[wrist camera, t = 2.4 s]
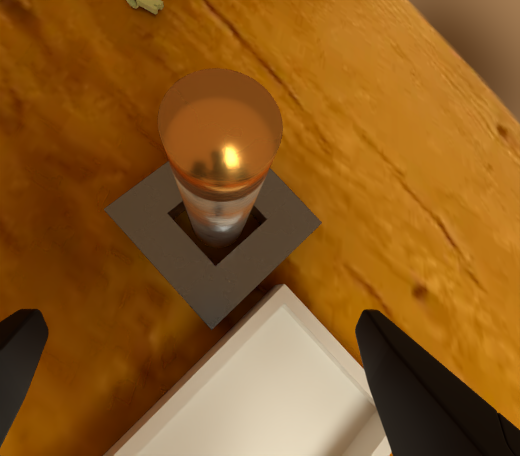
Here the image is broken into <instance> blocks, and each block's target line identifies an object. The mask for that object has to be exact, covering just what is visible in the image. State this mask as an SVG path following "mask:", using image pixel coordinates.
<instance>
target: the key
mask: <svg viewBox="0 0 520 456" xmlns="http://www.w3.org/2000/svg"><path fill="white" fill-rule="evenodd" d="M126 1H127V2H128V4H129V5H130V6H131V7H133V8H135V9H136V8H138V7H139V6H141V7H143V8H145V9H146V10H148V11H150V12H152V13H154V14H155V15H156V14H157V13H158V10H159V9H160V10H161V9H162V8H163V7H164V5H163V1H161V0H126Z"/></svg>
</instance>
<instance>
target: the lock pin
mask: <svg viewBox="0 0 520 456" xmlns="http://www.w3.org/2000/svg"><path fill="white" fill-rule="evenodd" d="M158 131H159V134H160V138H161V141H162V144H163V146H164V149H165V152H166V155H167V158H168V160H169V163H170V166H171V169H172V172H173V174H174V177H175V180H176V183H177V186H178V188H179V191H180V194H181V197H182V199H183V202H184V205H185V208H186V211H187V213H188V216H189V219H190V222H191V225H192V227H193V230H194V233H195V235H196V237H197V238H198V239H199V240H200V241H201V242H202V243H203V244H205V245H207V246H209V247H213V248H223V247H227V246H229V245H231V244H233V243H234V242H235V241H236V240H237V239H238V238H239V236H240V234H241V232H242V230H243V228H244V225H245V223H246V221H247V219H248V216H249V214H250V212H251V209H252V207H253V205H254V203H255V200H256V198H257V196H258V194H259V191H260V189H261V187H262V184H263V182H264V180H265V178H266V175H267V173H268V171H269V168H270V166H271V164H272V162H273V159H274V157H275V155H276V153H277V150H278V148H279V145H280V143H281V138H282V131H283V126H282V118H281V114H280V111H279V108H278V106H277V104H276V102H275V100H274V99H273V97H272V96H271V94H270V93H269V92H268V91H267V90H266V89H265V88H264V87H263V86H262V85H261V84H260V83H258V82H257V81H255V80H254V79H252V78H250V77H249V76H247V75H244V74H242V73H239V72H236V71H233V70H227V69H205V70H200V71H197V72H193V73H191V74H189V75H187V76H185V77H183V78H181V79H180V80H179V81H177V82H176V83H175V84H174V85H173V86H172V87H171V88H170V89H169V90H168V92H167V93H166V94H165V96H164V98H163V100H162V102H161V105H160V108H159V112H158Z"/></svg>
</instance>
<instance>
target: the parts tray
mask: <svg viewBox="0 0 520 456" xmlns="http://www.w3.org/2000/svg"><path fill="white" fill-rule="evenodd" d="M391 452H392V451H391V448H390V445H389V443H388V440H387V437H386V434H385V431H384V428H383V426H382V423H381V420H380V417H379V414H378V411H377V409H376V406H375V403H374V400H373V397H372V395H371V392H370V389H369V386H368V382H367V379H366V375H365V371H364V369H363V368H362V367H361V366H360V365H359V364H358V363H357V362H356V360H355V359H354V358H353V357H352V356H351V355H350V354H349V353H348V352H347V351H346V350H345V349H344V347H343V346H342V345H341V344H340V343H339V342H338V341H337V340H336V339H335V338H334V337H333V336H332V334H331V333H330V332H329V331H328V330H327V329H326V328H325V327H324V326H323V325H322V324H321V323H320V321H319V320H318V319H317V318H316V317H315V316H314V315H313V314H312V313H311V312H310V311H309V310H308V309H307V307H306V306H305V305H304V304H303V303H302V302H301V301H300V300H299V299H298V298H297V297H296V296H295V294H294V293H293V292H292V291H291V290H290V289H289V288H288V287H287V286H286V285H285V284H279V285H275V286H274V287H272V288H271V289H270V290H269V291H268V292H267V293H266V294H265V295H264V296H263V297H262V298H261V299H260V300H259V301H258V302H257V303H256V304H255V305H254V306H253V307H252V308H251V309H250V310H249V311H248V312H247V313H246V314H245V315H244V316H243V317H242V318H241V319H240V320H239V321H238V322H237V323H236V324H235V325H234V326H233V327H232V328H231V329H230V330H229V331H228V332H227V333H226V334H225V335H224V336H223V337H222V338H221V339H220V340H219V341H218V342H217V343H216V344H215V345H214V346H213V347H212V348H211V349H210V350H209V351H208V352H207V353H206V354H205V355H204V356H203V357H202V358H201V359H200V360H199V361H198V362H197V363H196V364H195V365H194V366H193V367H192V368H191V369H190V370H189V371H188V372H187V373H186V374H185V375H184V376H183V377H182V378H181V379H180V380H179V381H178V382H177V383H176V384H175V385H174V386H173V387H172V388H171V389H170V390H169V391H168V392H167V393H166V394H165V395H164V396H163V397H162V398H161V399H160V400H158V401H157V402H156V403H155V404H154V405H153V406H152V407H151V408H150V409H149V410H148V411H147V412H146V413H145V414H144V415H143V416H142V417H141V418H140V419H139V420H138V421H137V422H136V423H135V424H134V425H133V426H132V427H131V428H130V429H129V430H128V431H127V432H126V433H125V434H124V435H123V436H122V437H121V438H120V439H119V440H118V441H117V442H116V443H115V444H114V445H113V446H112V447H111V448H110V449H109V450H108V451H107V452H106V453H105V454H104V455H103V456H389V455H390V453H391Z"/></svg>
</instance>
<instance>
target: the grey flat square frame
mask: <svg viewBox="0 0 520 456" xmlns="http://www.w3.org/2000/svg"><path fill="white" fill-rule="evenodd" d="M185 209H186V208H185V205H184V202H183V199H182V197H181V194H180V191H179V188H178V186H177V183H176V180H175V177H174V174H173V172H172V169H171V166H170V163H169V161H168V162H166V163H165V164H164V165H162V166H161V167H160V168H158V169H157V170H156V171H154V172H153V173H152V174H150V175H149V176H148V177H146V178H145V179H144V180H142V181H141V182H140V183H138V184H137V185H136V186H134V187H133V188H131V189H130V190H129V191H127V192H126V193H125V194H123V195H122V196H121V197H119V198H118V199H117V200H115V201H114V202H113V203H111V204H110V205H109V206H107V207H106V208H105V209H104V210H105V211H106V212H107V214H108V215H109V216H110V217H111V218H112V219H113V220H114V221H115V222H116V224H117V225H118V226H119V227H120V228H121V229H122V230H123V231H124V233H125V234H126V235H127V236H128V237H129V238H130V239H131V240H132V241H133V243H134V244H135V245H136V246H137V247H138V248H139V249H140V250H141V252H142V253H143V254H144V255H145V256H146V257H147V258H148V259H149V260H150V262H151V263H152V264H153V265H154V266H155V267H156V268H157V269H158V271H159V272H160V273H161V274H162V275H163V276H164V277H165V278H166V279H167V281H168V282H169V283H170V284H171V285H172V286H173V287H174V288H175V290H176V291H177V292H178V293H179V294H180V295H181V296H182V297H183V298H184V300H185V301H186V302H187V303H188V304H189V305H190V306H191V307H192V308H193V310H194V311H195V312H196V313H197V314H198V315H199V316H200V317H201V319H202V320H203V321H204V322H205V323H206V324H207V325H208V326H209V327H210V329H211V330H212V329H213V328H214V327H215V326H216V325H217V324H218V323H219V322H220V321H221V320H222V319H223V318H225V317H226V316H227V315H228V314H229V313H230V312H231V311H232V310H233V309H234V308H235V307H236V306H237V305H238V304H239V303H240V302H241V301H242V300H243V299H244V298H245V297H246V296H247V295H248V294H249V293H250V292H251V291H252V290H253V289H254V288H255V287H256V286H257V285H259V284H260V283H261V282H262V281H263V280H264V279H265V278H266V277H267V276H268V275H269V274H270V273H271V272H272V271H273V270H274V269H275V268H276V267H277V266H278V265H279V264H280V263H281V262H282V261H283V260H284V259H285V258H286V257H287V256H288V255H289V254H290V253H291V252H292V251H294V250H295V249H296V248H297V247H298V246H299V245H300V244H301V243H302V242H303V241H304V240H305V239H306V238H307V237H308V236H309V235H310V234H311V233H312V232H313V231H314V230H315V229H316V228H317V227H318V226H319V225H320V224H321V223H322V222H321V221H320V220H319V219H318V218H317V217H316V216H315V215H314V214H313V213H312V212H311V211H310V210H309V209H308V208H307V206H306V205H305V204H304V203H303V202H302V201H301V200H300V199H299V198H298V197H297V196H296V195H295V194H294V193H293V192H292V191H291V190H290V189H289V187H288V186H287V185H286V184H285V183H284V182H283V181H282V180H281V179H280V178H279V177H278V176H277V175H276V174H275V173H274V172H273V171H272V170H271V169H270V168H269V171H268V173H267V175H266V178H265V180H264V182H263V184H262V187H261V189H260V191H259V194H258V196H257V198H256V200H255V203H254V205H253V207H252V209H251V212H250V213H251V214H252V215H253V216H254V217H255V218H256V219H257V220H258V221H259V222H260V224H261V226H260V227H258V228H257V229H256V230H255V231H254V232H253V233H252V234H251V235H250V236H248V237H247V238H246V239H245V240H244V241H243V242H242V243H241V244H240V245H238V246H237V247H236V248H235V249H234V250H233V251H232V252H231V253H230V254H228V255H227V256H226V257H225V258H224V259H223V260H222V261H221V262H220V263H219V264H217V265H216V266H215V265H214V264H213V263H212V262H211V261H210V260H209V259H208V258H207V256H206V255H205V254H204V253H203V252H202V251H201V250H200V249H199V248H198V247H197V245H196V244H195V243H194V242H193V241H192V240H191V239H190V238H189V237H188V236H187V234H186V233H185V232H184V231H183V230H182V229H181V228H180V227H179V226H178V225H177V223H176V222H175V221H174V220H173V219H174V218H175V217H177V216H178V215H179V214H180V213H182V212H183V211H184V210H185Z"/></svg>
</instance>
